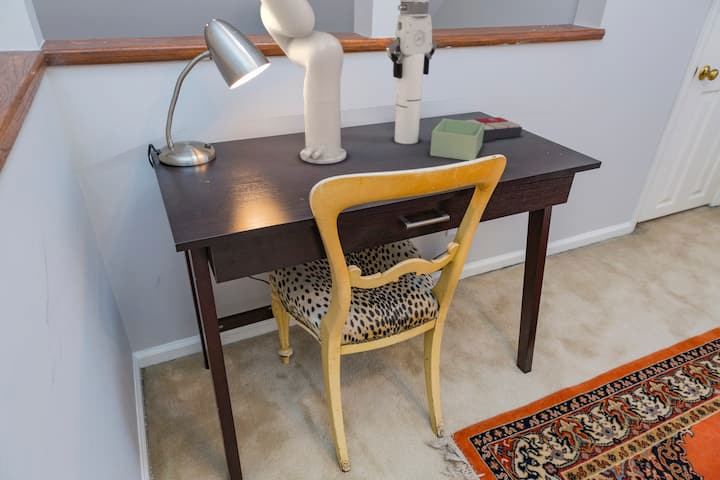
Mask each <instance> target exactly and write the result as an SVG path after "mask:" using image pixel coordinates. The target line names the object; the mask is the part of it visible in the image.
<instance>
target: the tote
mask: <svg viewBox="0 0 720 480" xmlns="http://www.w3.org/2000/svg"><path fill="white" fill-rule="evenodd" d="M484 126H485V123H479V122H470V121H465V120H461V119H460V120H459V119H449V118H442V120H440V121H439V123H438V124H437V125H436V126H435V127H434V129H433V130H432V131H431V137H430V138H431V140H430V152H429V156H431V157H432V156H433V157H438V158H439V157H440V158H446V159H454V160H462V161H463V160H464V161H468V160H473V159H475V160H476V158H477V156H478V154H479V152H480V151H481V148H482V146H483V142H482V141H483V134H484Z"/></svg>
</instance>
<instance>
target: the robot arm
mask: <svg viewBox="0 0 720 480" xmlns="http://www.w3.org/2000/svg"><path fill="white" fill-rule="evenodd" d="M260 2H261V4H260V10H259V11H260V17H261V19H260V20H261V21H262V24H263V26H264V28H265V30H266V31H267V32H268V33H269V35H270V36H271V37H272V39H273V40H274V42H275V43H276V44H277V45H278V47H279V48H280V49H281V50H282V52H283V53H284V54H285V56H286V57H287V58H288V59H289V60H290V61H291V62H292V63H293V64H294V65H295V66H298V67H300V68H302V69H304V70H305V75H304V79H303V86H302V95H303V96H302V98H303V112H304V113H303V118H304V119H303V120H304V141H305V142H304V143H305V148H303V149H302V150H301V151H300V152H299V156H300V157H299V158H300V159H301V160H302V161H304V162H307V163H309V164H316V165H328V164H336V163H339V162H343V161H344V160H346V158H347V151H346V150H345V149H344V148H342V146H341V145H342V144H341V143H342V139H341V138H342V137H341V135H342V134H341V133H342V132H341V131H342V130H341V128H342V127H341V80H342V78H341V77H342V71H343V65H344V57H345V55H344V49H343V46H342V44H341V42H340V41H339V39H337V37H335V36H334V35H332V34H331V33H328V32H324V31H320V30H315V29H314V27H315V24H316V16H315V13H314V12H315V11H314V10H313V7H312V6H311V4H310V3H309V1H308V0H260ZM429 7H430V0H400V4H399V5H398V6H397V11H398V12H399V15H397V21H396V27H395V33H394V34H395V35H394V40H393V41H392V42H390V43H389V44H388V45H387V46H386V48H385V50H386V52H387V55H388V58H389V59H390V60H391V63H392V64H393V65H392V67H393V68H392V75H393V76H392V77H393V78H395V79H398V78H399V79H401V78H402V67H403V64H402V63H401V61H402V60H403V58H404V56H411V55H414V54H424V68H423V75H426V76H428V75H429V72H430V60H432V58H433V57H432V56H433V55H434V54H435V52H436V49H437V47H438V41H436V40H435V39H434V38H433V24H432V15H431V14H429V9H430V8H429ZM399 55H400V56H399Z"/></svg>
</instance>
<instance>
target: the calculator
mask: <svg viewBox="0 0 720 480" xmlns="http://www.w3.org/2000/svg"><path fill="white" fill-rule="evenodd" d="M464 121H470V122H479V123H485V126H484V134H483V141H482V143H486V142H492V141H494V140H498V139H508V138H518V137H521V135H522V131H523V126H521V125H520V124H518V123H516V122H513V121H509V120H508V119H506V118H502V117H499V116H498V117H485V118H484V117H483V118H475V119H465V120H464Z"/></svg>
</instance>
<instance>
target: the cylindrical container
mask: <svg viewBox="0 0 720 480" xmlns="http://www.w3.org/2000/svg"><path fill="white" fill-rule="evenodd" d="M399 56H400V55H399ZM401 63H402V64H403V67H402V78H401V79H399V78H396V79H397V80H396V82H397V83H396V84H397V85H396V102H395V121H394V122H395V124H394V142H395V143H398V144H402V145H413V144H416V143H418V142H419V136H420V135H419V134H420V133H419V132H420V122H421V121H420V119H421V108H422V107H421V105H422V94H423V81H424V80H423V79H424V74H423V68H424V54H414V55H411V56H404V58H403V60H402V61H401Z"/></svg>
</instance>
